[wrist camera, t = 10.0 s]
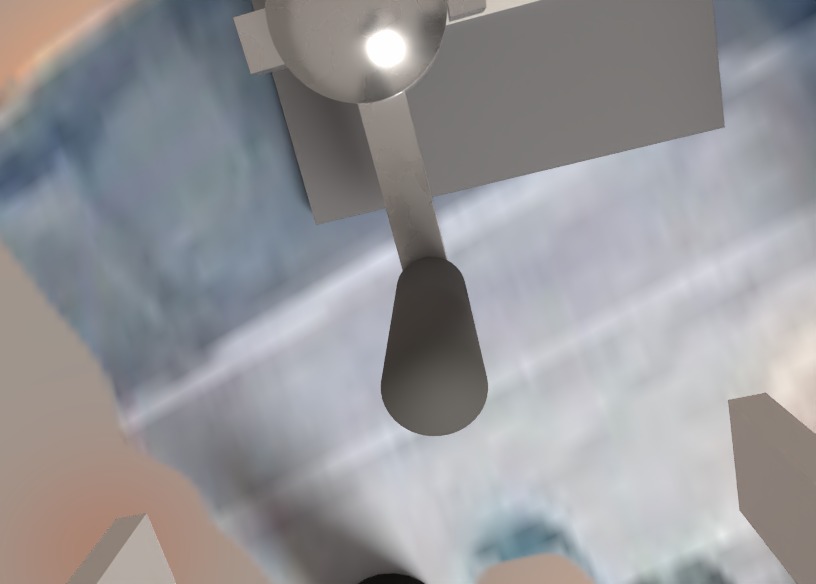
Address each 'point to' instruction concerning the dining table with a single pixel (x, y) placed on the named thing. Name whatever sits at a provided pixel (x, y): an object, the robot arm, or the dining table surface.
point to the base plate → (522, 97)
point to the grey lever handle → (390, 181)
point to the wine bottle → (391, 579)
